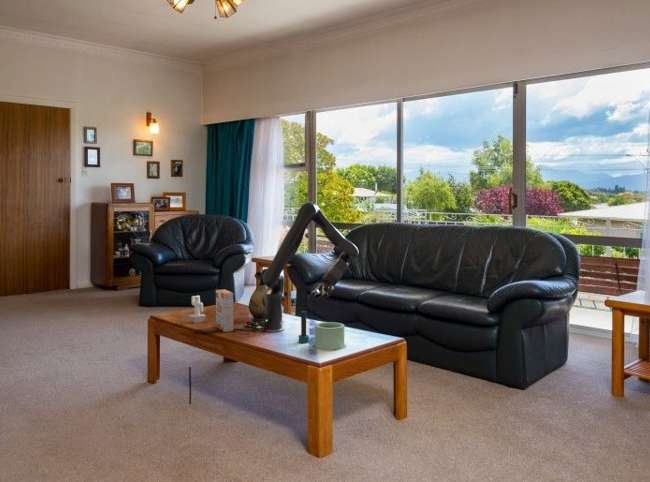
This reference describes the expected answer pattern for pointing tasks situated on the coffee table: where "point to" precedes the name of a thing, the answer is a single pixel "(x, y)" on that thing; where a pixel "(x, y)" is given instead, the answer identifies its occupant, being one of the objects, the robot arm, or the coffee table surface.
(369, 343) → the coffee table surface
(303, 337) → the brush
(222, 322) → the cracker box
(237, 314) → the coffee table surface
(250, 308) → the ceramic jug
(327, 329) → the jar
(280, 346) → the coffee table surface
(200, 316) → the figurine
